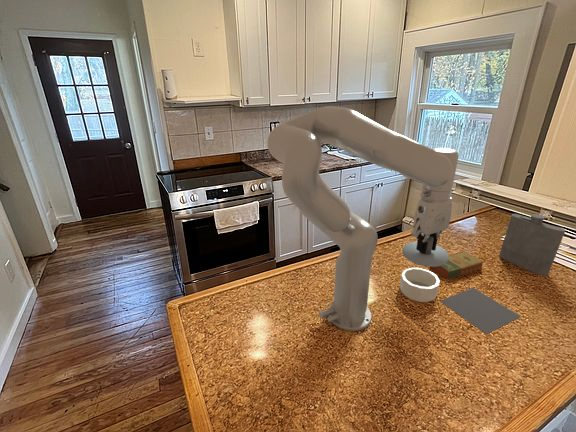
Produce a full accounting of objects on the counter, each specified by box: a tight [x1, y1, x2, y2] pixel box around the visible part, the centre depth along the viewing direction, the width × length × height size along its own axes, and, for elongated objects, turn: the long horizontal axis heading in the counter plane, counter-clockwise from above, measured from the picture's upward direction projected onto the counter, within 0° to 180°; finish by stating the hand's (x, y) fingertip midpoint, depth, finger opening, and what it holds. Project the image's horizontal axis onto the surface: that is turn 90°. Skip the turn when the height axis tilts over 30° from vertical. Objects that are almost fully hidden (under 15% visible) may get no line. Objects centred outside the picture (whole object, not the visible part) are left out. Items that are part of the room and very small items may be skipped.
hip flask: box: [499, 213, 566, 277], centre depth 107 cm, size 16×4×20 cm, turn 29°
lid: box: [402, 234, 450, 268], centre depth 91 cm, size 13×13×6 cm
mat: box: [440, 287, 522, 335], centre depth 90 cm, size 15×15×1 cm
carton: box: [429, 250, 484, 280], centre depth 109 cm, size 8×16×4 cm, turn 110°
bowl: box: [399, 267, 441, 303], centre depth 97 cm, size 11×11×6 cm
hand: (425, 249), depth 92 cm, fingers closed on lid, 3 cm apart
